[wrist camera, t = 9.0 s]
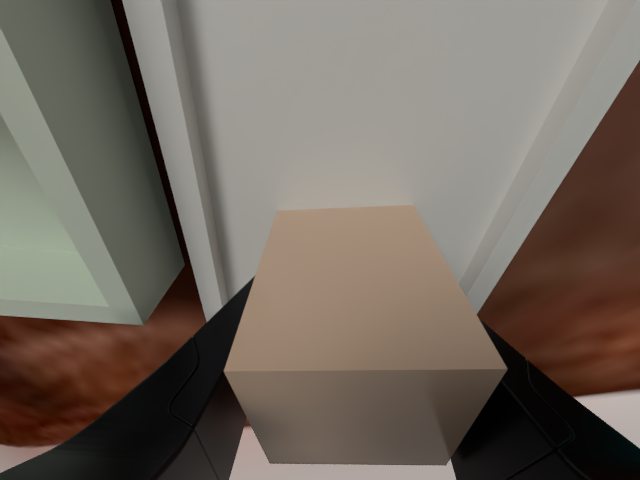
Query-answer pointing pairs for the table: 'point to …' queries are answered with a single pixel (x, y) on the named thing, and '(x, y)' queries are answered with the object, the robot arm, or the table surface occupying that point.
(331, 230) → the tan rectangular block
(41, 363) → the table surface
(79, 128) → the bin
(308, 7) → the tray
